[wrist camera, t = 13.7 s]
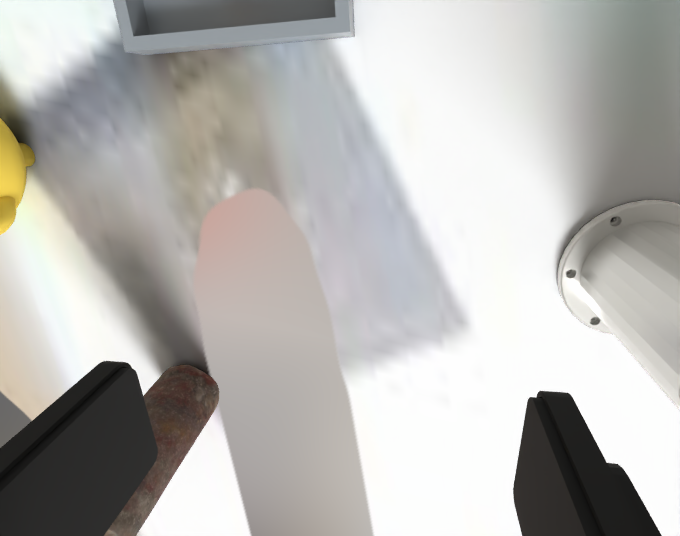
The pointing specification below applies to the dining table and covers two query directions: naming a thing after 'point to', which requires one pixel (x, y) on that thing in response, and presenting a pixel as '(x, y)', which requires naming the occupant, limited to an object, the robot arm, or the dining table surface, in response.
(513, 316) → the dining table surface
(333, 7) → the tray
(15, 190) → the teapot
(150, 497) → the candle
